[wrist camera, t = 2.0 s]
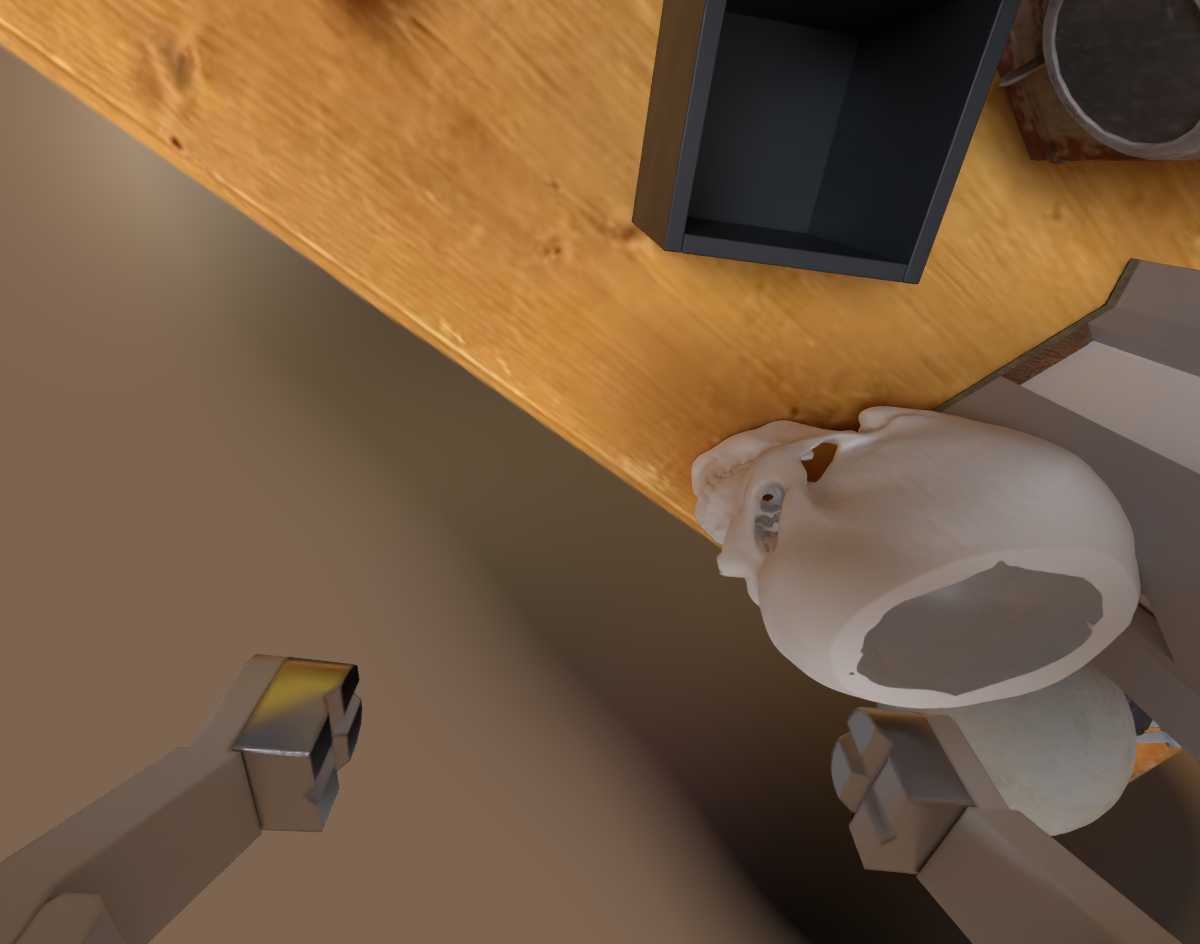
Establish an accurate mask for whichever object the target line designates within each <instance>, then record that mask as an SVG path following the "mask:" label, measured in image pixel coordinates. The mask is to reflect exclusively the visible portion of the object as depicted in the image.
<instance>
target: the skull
mask: <svg viewBox="0 0 1200 944" xmlns="http://www.w3.org/2000/svg"><path fill="white" fill-rule="evenodd" d="M858 420H859V423H860V425H861V426H860V428H859V430H858V432H859V433H856V432H855V431H853V430H846V431H836V430H825V429H820V428H816V427H811V426H808V425H804V424H800V423H796V422H792V421H788V420H780V421H774V422H771V423H768V424H766V425H764V426H761V427H760V428H757V429H754V430H748V431H744V432H741V433H738V434H735V435H733V436H731V437H729V438H727V439H725V440H724V441H722V442H721V443H719V444H718V445H717V446H715V447H713V448H712V449H710V450H708V451H706V452H704V453H702V454H700V455H699V456H698V457H697V458H696V459H695V460H694V462H693V464H692V469H691V481H692V489H693V492H694V494H695V495H696V496H697V498H698V500H697V502H696V506H695V510H694V516H695V518H696V520H697V521H698V523H699V525H700V527H701V528H702V529H703V530H705V531H706V533H707V534H708V535H710V536H711V537H712V539H713V540H714V541H715V542H717V543H719V544H721V545H722V552H721V554H719V555H718V556H717V563H718V568H719V570H720V571H721V572H720V573H719V574H721V575H723V576H730V577H742V578H745V580H746V583H747V591H748V594H749V595H750V597H751V599H752V600H753V601H754V602H755V603H756V604H757V605H758V606H760V609H761V613H762V617H763V621H764V624H765V627H766V630H767V632H768V634H769V636H770V638H771V640H772V642H773V644H774V645H775V646H776V648H777V649H778V650H779V651H780V652H781V653H782V654H783V655H784V656H785V657H786V658H788V659H789V660H790V661H791V662H792V663H793V664H795V665H796V666H797V667H798V668H799V669H801V670H802V671H803V672H804V673H805V674H807V675H808V676H809V677H811V678H813V679H814V680H816V681H817V682H819V683H821V684H823V685H825V686H827V687H829V688H831V689H834V690H837V691H839V692H843V693H845V694H849V695H852V696H856V697H859V698H863V699H866V700H870V701H874V702H878V703H882V704H887V705H892V706H899V707H908V708H920V709H924V708H931V709H933V708H952V707H961V706H967V705H973V704H978V703H982V702H987V701H992V700H998V699H1004V698H1009V697H1014V696H1019V695H1023V694H1026V693H1029V692H1033V691H1036V690H1039V689H1042V688H1044V687H1047V686H1049V685H1051V684H1054V683H1056V682H1058V681H1060V680H1062V679H1064V678H1065V677H1067V676H1069V675H1070V674H1072V673H1074V672H1075V671H1077V670H1078V669H1080V668H1081V667H1083V666H1084V665H1085V664H1086V663H1088V662H1089V661H1090V660H1092V659H1093V658H1094V657H1095V656H1097V655H1098V654H1099V653H1100V652H1101V651H1102V650H1104V649H1105V648H1106V647H1107V646H1108V645H1109V644H1110V643H1111V642H1113V641H1114V639H1115V638H1116V637H1117V636H1119V635H1120V634H1121V633H1122V632H1123V631H1124V630H1125V629H1126V628H1127V627H1128V626H1129V624H1130V623H1131V621H1132V617H1133V614H1134V612H1135V610H1136V608H1137V605H1138V601H1139V597H1140V592H1141V585H1140V578H1139V569H1138V563H1137V559H1136V556H1135V543H1134V535H1133V531H1132V528H1131V525H1130V523H1129V521H1128V519H1127V517H1126V515H1125V513H1124V511H1123V509H1122V507H1121V505H1120V503H1119V502H1118V500H1117V499H1116V497H1115V496H1114V494H1113V493H1112V491H1111V490H1110V489H1109V488H1108V486H1107V485H1106V484H1105V482H1104V481H1103V480H1102V479H1101V478H1100V477H1099V476H1098V475H1097V474H1096V473H1095V472H1094V470H1093V469H1092V468H1091V467H1090V466H1089V465H1088V464H1087V463H1086V462H1085V461H1083V460H1082V459H1081V458H1079V457H1078V456H1077V455H1075V454H1073V453H1072V452H1070V451H1068V450H1066V449H1064V448H1062V447H1060V446H1058V445H1056V444H1054V443H1051V442H1049V441H1047V440H1044V439H1042V438H1039V437H1036V436H1033V435H1030V434H1027V433H1024V432H1021V431H1018V430H1014V429H1010V428H1006V427H1002V426H997V425H992V424H987V423H982V422H978V421H974V420H971V419H968V418H964V417H959V416H954V415H949V414H944V413H939V412H935V411H928V410H918V409H909V408H899V407H891V406H877V407H871V408H867V409H865V410H863V411H862V412H861V413H860V414H859V417H858ZM821 443H832V444H835V445H836V446H838V448H837V449H836V453H835V456H834V458H833V461H832V462H831V463H830V465H829V466H828V468H827V470H826V471H825V472H824V474H823V475H822V477H821V478H820V479H819V480H818V481H817V482H815V483H812V482H810V481H808V482H810V483H808V482H807V472H806V470H805V468H804V466H803V464H802V463H801V460H810V459H813V457H814V453H813V451H812V449H813V448H815V447H816V446H818V445H819V444H821ZM766 494H771V495H773V498H772V499H771V500H769V501H766V500H762V498H763V496H764V495H766Z"/></svg>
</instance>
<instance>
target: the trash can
mask: <svg viewBox="0 0 1200 944" xmlns="http://www.w3.org/2000/svg"><path fill="white" fill-rule="evenodd" d="M1021 1H1022V0H664V2H663V9H662V16H661V23H660V30H659V37H658V44H657V51H656V57H655V64H654V71H653V78H652V85H651V92H650V99H649V106H648V113H647V120H646V127H645V134H644V141H643V147H642V154H641V161H640V168H639V175H638V182H637V189H636V196H635V203H634V210H633V217H632V222H633V223H634V224H635V225H636V226H637V227H638V228H640V229H641V230H642V231H643V232H644V233H645V234H646V235H647V236H649V237H650V238H651V239H652V240H653V241H654V242H655V243H656V244H657V245H659V246H660V247H661V248H662V249H663V250H664V251H671V252H682V253H686V254H694V255H701V256H709V257H716V258H723V259H731V260H738V261H746V262H753V263H761V264H768V265H776V266H783V267H791V268H798V269H806V270H813V271H821V272H828V273H836V274H843V275H851V276H858V277H866V278H873V279H880V280H888V281H895V282H903V283H911V284H918V283H919V281H920V278H921V276H922V273H923V270H924V267H925V265H926V262H927V259H928V256H929V254H930V251H931V248H932V245H933V243H934V240H935V237H936V234H937V232H938V229H939V226H940V223H941V221H942V218H943V215H944V213H945V210H946V207H947V204H948V202H949V199H950V196H951V193H952V191H953V188H954V185H955V182H956V180H957V177H958V174H959V171H960V169H961V166H962V163H963V160H964V158H965V155H966V152H967V149H968V147H969V144H970V141H971V138H972V136H973V133H974V130H975V127H976V125H977V122H978V119H979V116H980V114H981V111H982V108H983V105H984V103H985V100H986V97H987V94H988V92H989V89H990V86H991V83H992V81H993V78H994V75H995V73H996V70H997V67H998V64H999V62H1000V59H1001V56H1002V53H1003V51H1004V48H1005V45H1006V42H1007V40H1008V37H1009V34H1010V31H1011V29H1012V26H1013V23H1014V20H1015V18H1016V15H1017V12H1018V9H1019V7H1020V4H1021Z"/></svg>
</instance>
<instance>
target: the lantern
mask: <svg viewBox="0 0 1200 944" xmlns="http://www.w3.org/2000/svg"><path fill="white" fill-rule="evenodd" d="M998 70H999V73H1000V76H1001V80H1000V83H999V84H1000V87H1002V86H1004V87H1005V89H1006V92H1007V95H1008V98H1009V100H1010V103H1011V106H1012V109H1013V111H1014V114H1015V117H1016V120H1017V122H1018V125H1019V128H1020V131H1021V133H1022V136H1023V139H1024V142H1025V144H1026V147H1027V150H1028V153H1029V155H1030V158H1031V159H1032V160H1038V161H1048V162H1050V163H1054V164H1064V163H1065V162H1066V161H1200V0H1022V1H1021V4H1020V7H1019V9H1018V12H1017V15H1016V18H1015V20H1014V23H1013V26H1012V29H1011V31H1010V34H1009V37H1008V40H1007V42H1006V45H1005V48H1004V51H1003V53H1002V56H1001V59H1000V62H999V64H998Z"/></svg>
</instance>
